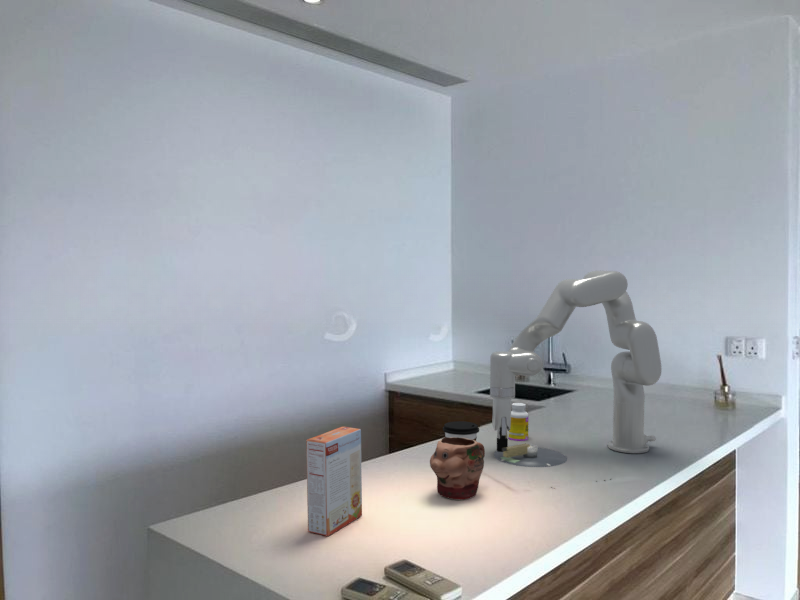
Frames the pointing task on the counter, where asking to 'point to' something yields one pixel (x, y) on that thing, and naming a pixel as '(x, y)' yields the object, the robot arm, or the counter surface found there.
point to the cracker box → (334, 480)
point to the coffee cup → (461, 430)
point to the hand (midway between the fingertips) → (502, 451)
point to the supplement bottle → (518, 423)
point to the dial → (534, 458)
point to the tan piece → (520, 450)
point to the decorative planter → (458, 467)
